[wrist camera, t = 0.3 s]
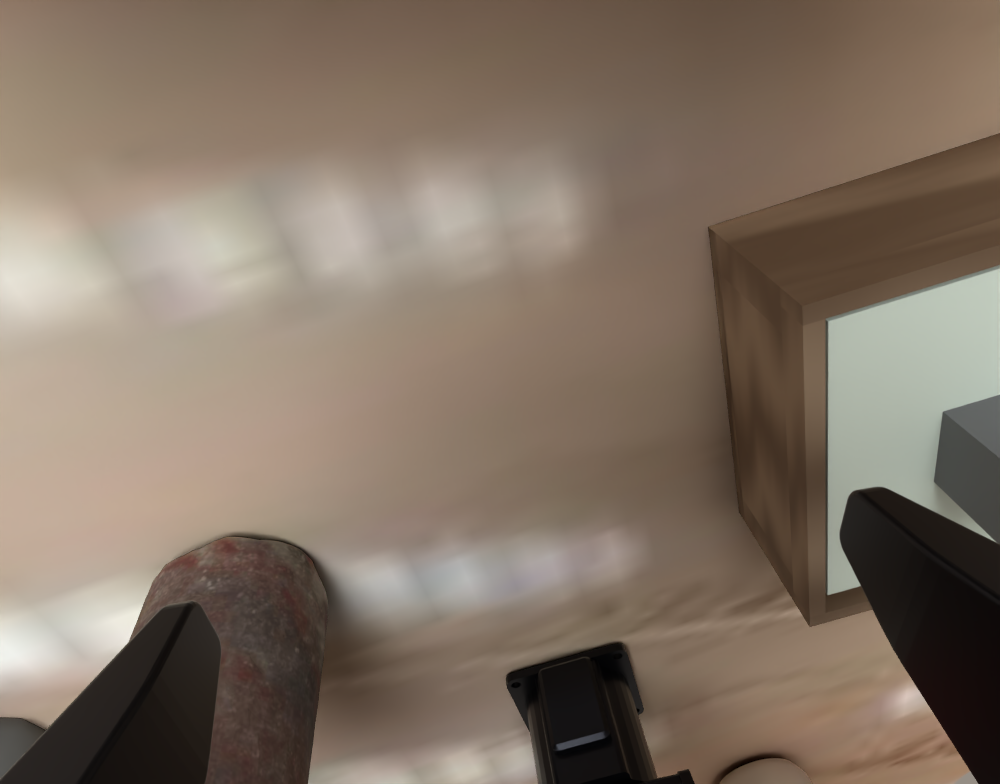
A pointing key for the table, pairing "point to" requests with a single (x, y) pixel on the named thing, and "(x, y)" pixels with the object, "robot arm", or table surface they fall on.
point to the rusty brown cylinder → (255, 652)
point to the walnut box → (801, 328)
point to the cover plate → (915, 407)
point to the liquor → (15, 740)
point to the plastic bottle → (767, 773)
